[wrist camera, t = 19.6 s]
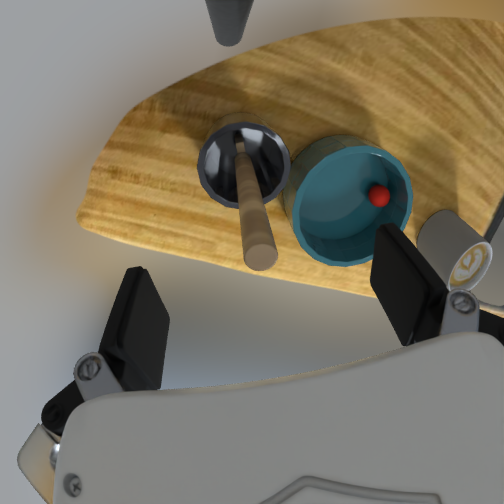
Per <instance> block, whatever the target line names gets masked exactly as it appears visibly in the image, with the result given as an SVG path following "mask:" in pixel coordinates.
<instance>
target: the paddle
mask: <svg viewBox="0 0 504 504" xmlns="http://www.w3.org/2000/svg"><path fill="white" fill-rule="evenodd" d="M235 143H236V148H237V155H236V156H235V170H236V181H237V192H238V203H239V214H240V225H241V236H242V246H243V256H244V262H245V264H246V265H247V266H248V267H249V268H251V269H253V270H256V271H264V270H267V269H269V268H271V267H272V266H273V265H274V264H275V263H276V261H277V258H278V252H277V249H276V245H275V241H274V238H273V234H272V231H271V227H270V223H269V220H268V216H267V213H266V209H265V206H264V202H263V199H262V195H261V192H260V188H259V185H258V181H257V178H256V175H255V171H254V168H253V164H252V161H251V158H250V155H249V154H247V153H246V152H245V147H244V141H243V138H242V134H235Z"/></svg>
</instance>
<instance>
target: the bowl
mask: <svg viewBox="0 0 504 504" xmlns="http://www.w3.org/2000/svg"><path fill="white" fill-rule="evenodd" d="M374 185H383V186H385V187H386V188H387V189H388V190H389V193H390V200H389V202H388V204H387V205H385V206H383V207H376V206H374V205H373V204H372V203H371V202H370V200H369V197H368V194H369V190H370V189H371V188H372V187H373V186H374ZM283 201H284V207H285V212H286V214H287V217H288V219H289V221H290V224H291V226H292V229H293V231H294V233H295V235H296V237H297V240H298V242H299V244H300V246H301V247H302V248H303V249H304V250H305V251H306V252H307V253H308V254H309V255H310V256H311V257H312V258H313V259H315V260H317V261H320V262H322V263H325V264H327V265H330V266H341V267H348V266H353V265H358V264H363V263H365V262H367V261H370V260H372V259H373V253H374V244H375V234H376V229H377V228H379V226H380V225H381V224H385V223H391V222H393V223H395V224H396V225H397V226H398V227H399V228H400V230H401V231H402V232H403V230H404V229H405V226H406V224H407V221H408V219H409V216H410V214H411V210H412V201H413V192H412V186H411V181H410V177H409V175H408V174H407V172H406V170H405V169H404V167H403V165H402V164H401V162H400V161H399V160H397V159H396V158H395V157H394V156H392V155H391V154H390V153H389V152H387V151H386V150H384V149H382V148H380V147H378V146H376V145H375V144H373V143H371V142H369V141H367V140H364V139H361V138H358V137H355V136H350V135H334V136H329V137H326V138H322V139H320V140H318V141H316V142H314V143H313V144H311V145H309V146H308V147H307V148H306V149H304V150H303V151H302V152H301V153H300V154H299V155H298V156H297V157H296V159H295V160H294V162H293V163H292V165H291V170H290V173H289V177H288V180H287V183H286V186H285V187H284V188H283Z"/></svg>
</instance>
